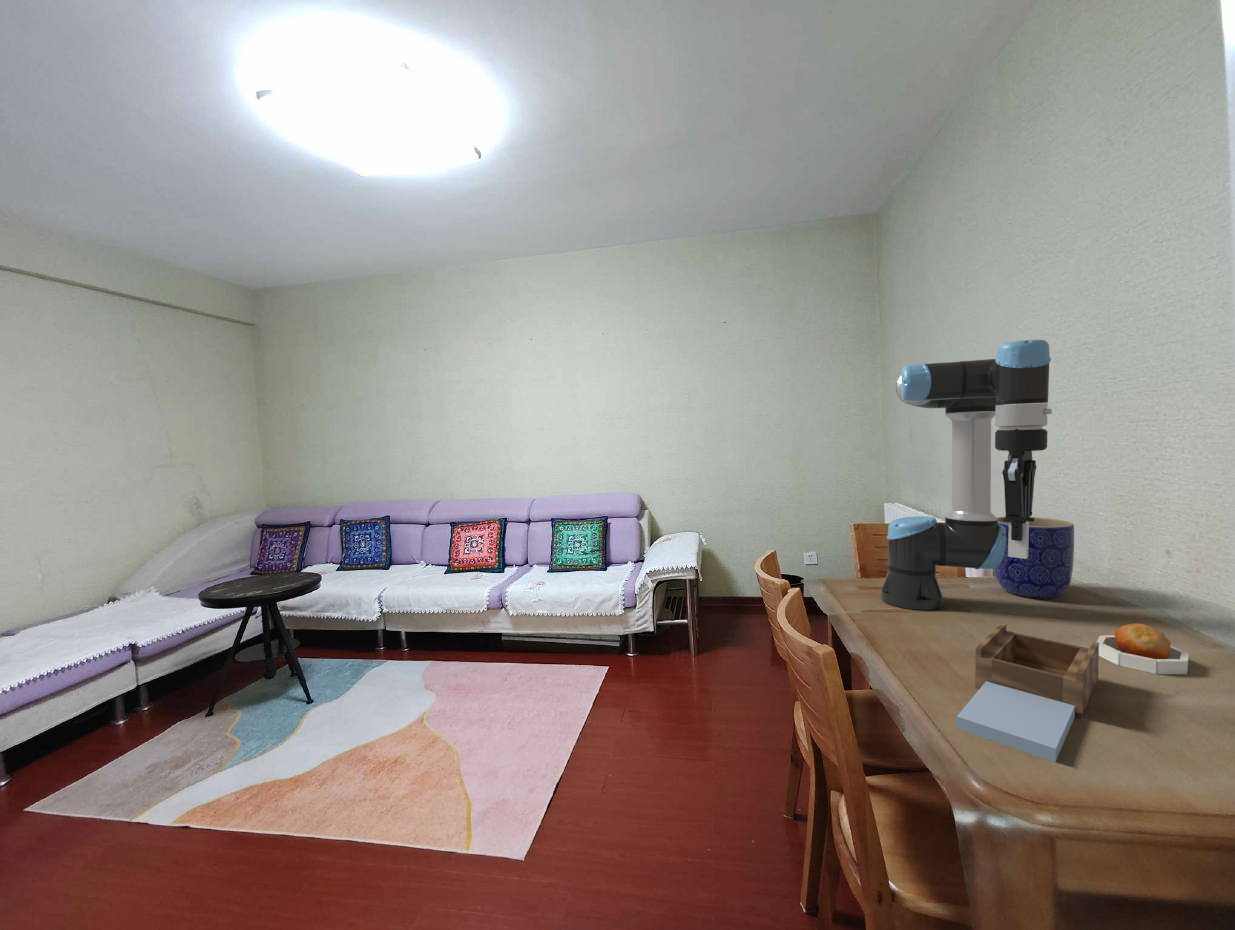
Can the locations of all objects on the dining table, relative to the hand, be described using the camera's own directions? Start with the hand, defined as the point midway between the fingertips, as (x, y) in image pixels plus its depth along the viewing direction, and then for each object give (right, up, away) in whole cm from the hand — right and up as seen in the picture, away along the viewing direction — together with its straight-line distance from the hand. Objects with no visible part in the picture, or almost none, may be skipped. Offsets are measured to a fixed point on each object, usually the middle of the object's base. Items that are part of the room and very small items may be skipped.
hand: (1018, 556), depth 98 cm
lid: (-9, -26, -11) cm, 29 cm away
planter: (+44, -20, +54) cm, 73 cm away
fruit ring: (+33, -23, +10) cm, 41 cm away
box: (+4, -24, +1) cm, 24 cm away
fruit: (+33, -23, +10) cm, 41 cm away
